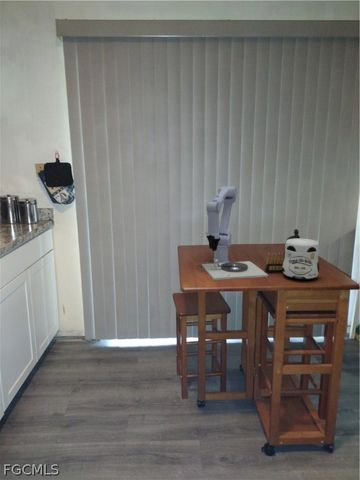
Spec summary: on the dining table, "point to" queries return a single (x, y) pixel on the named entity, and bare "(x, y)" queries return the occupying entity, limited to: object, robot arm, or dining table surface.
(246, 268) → the dial
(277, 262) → the ammunition clip
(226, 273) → the dial plate
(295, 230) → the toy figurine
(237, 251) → the dining table surface
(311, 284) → the dining table surface
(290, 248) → the milk container
